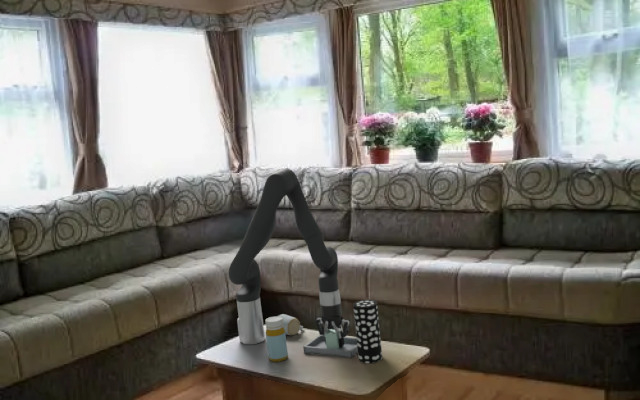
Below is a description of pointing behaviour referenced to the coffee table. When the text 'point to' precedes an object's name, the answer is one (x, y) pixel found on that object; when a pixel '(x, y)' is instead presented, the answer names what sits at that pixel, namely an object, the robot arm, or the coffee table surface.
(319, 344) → the gray tray
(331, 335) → the sage block
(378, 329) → the white-spotted black cylinder
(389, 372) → the coffee table surface
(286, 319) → the ceramic mug
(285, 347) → the bottle
